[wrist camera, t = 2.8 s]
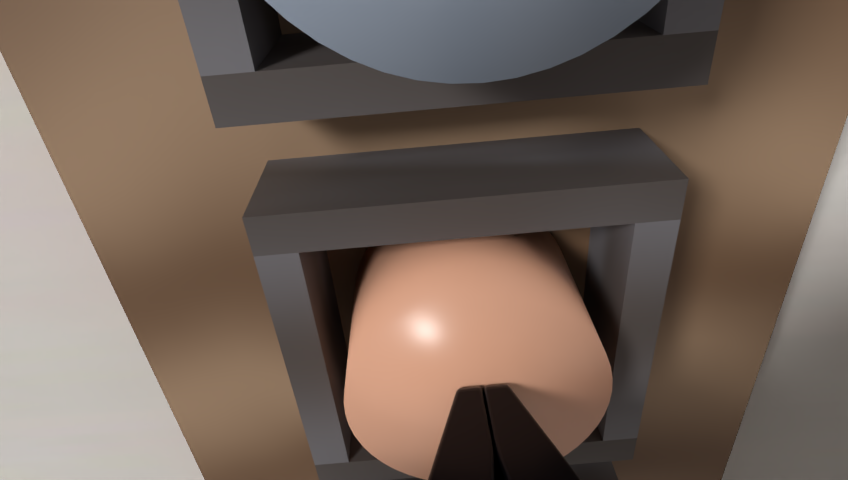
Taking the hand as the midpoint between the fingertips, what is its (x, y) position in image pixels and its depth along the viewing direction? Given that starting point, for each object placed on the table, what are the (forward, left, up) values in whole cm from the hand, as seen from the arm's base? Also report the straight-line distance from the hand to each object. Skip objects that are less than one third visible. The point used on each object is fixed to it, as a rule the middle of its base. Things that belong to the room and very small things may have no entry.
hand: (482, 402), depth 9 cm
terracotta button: (0, 0, -3) cm, 3 cm away
